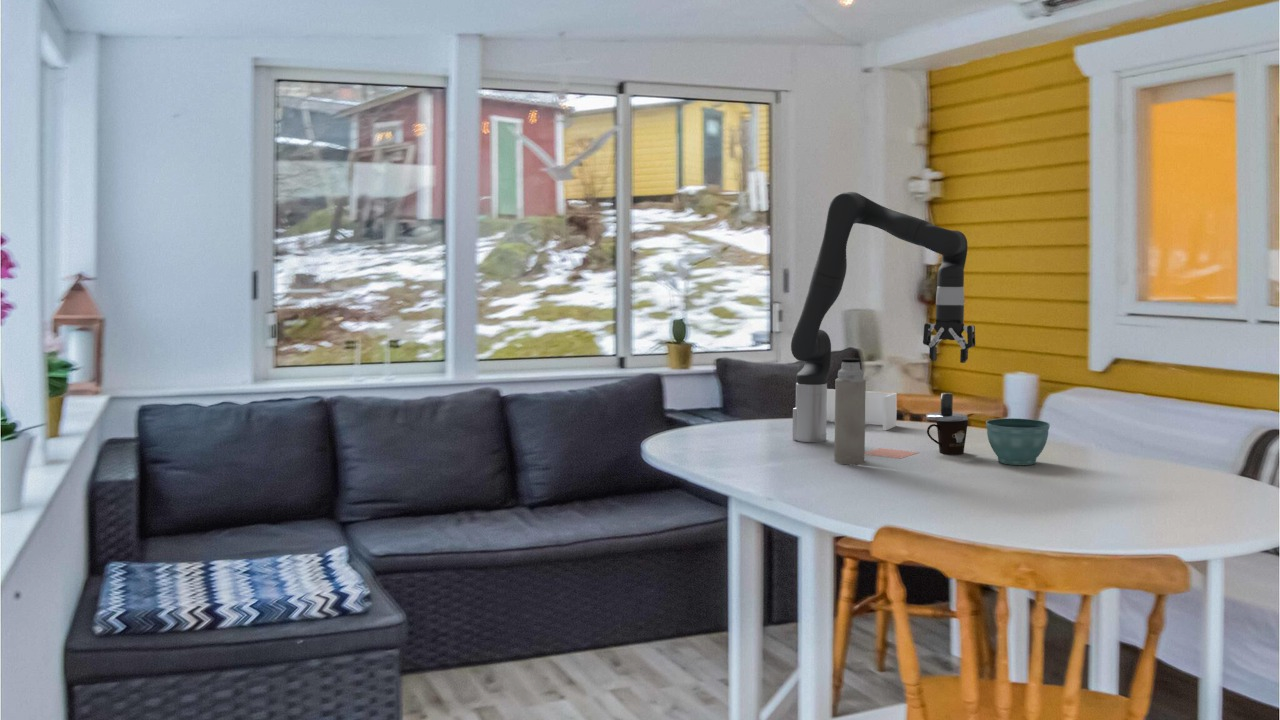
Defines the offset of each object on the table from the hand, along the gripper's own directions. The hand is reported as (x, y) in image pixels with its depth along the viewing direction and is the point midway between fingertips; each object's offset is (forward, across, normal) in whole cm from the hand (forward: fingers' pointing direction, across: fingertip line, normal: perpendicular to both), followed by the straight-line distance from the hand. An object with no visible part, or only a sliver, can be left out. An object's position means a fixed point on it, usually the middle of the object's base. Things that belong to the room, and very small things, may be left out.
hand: (948, 361), depth 318 cm
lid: (+16, 0, 0) cm, 16 cm away
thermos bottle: (+26, -15, -27) cm, 41 cm away
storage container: (+27, -46, +33) cm, 63 cm away
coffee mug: (+26, 0, 0) cm, 26 cm away
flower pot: (+26, +20, -1) cm, 33 cm away
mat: (+26, -12, -10) cm, 30 cm away
